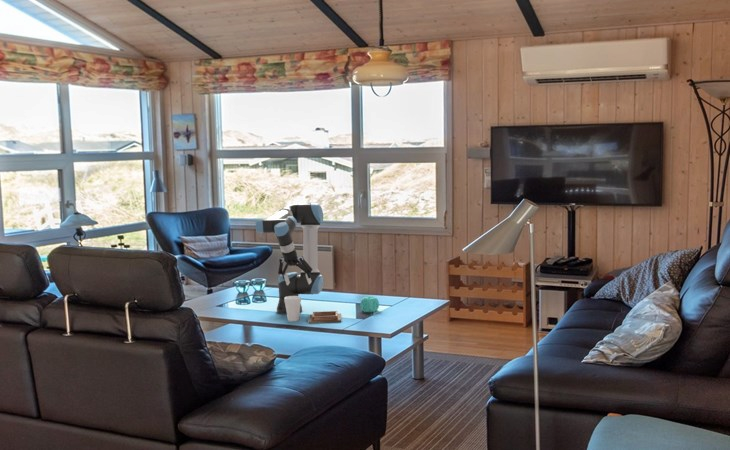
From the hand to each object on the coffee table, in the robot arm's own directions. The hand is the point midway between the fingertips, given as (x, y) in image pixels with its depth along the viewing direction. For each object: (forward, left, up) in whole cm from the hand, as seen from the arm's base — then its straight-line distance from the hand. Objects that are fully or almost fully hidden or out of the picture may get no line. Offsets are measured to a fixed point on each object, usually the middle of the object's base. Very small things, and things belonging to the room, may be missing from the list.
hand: (299, 283), depth 413 cm
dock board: (-8, +13, -22) cm, 27 cm away
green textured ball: (-27, +39, -23) cm, 53 cm away
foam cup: (-10, -5, -22) cm, 25 cm away
